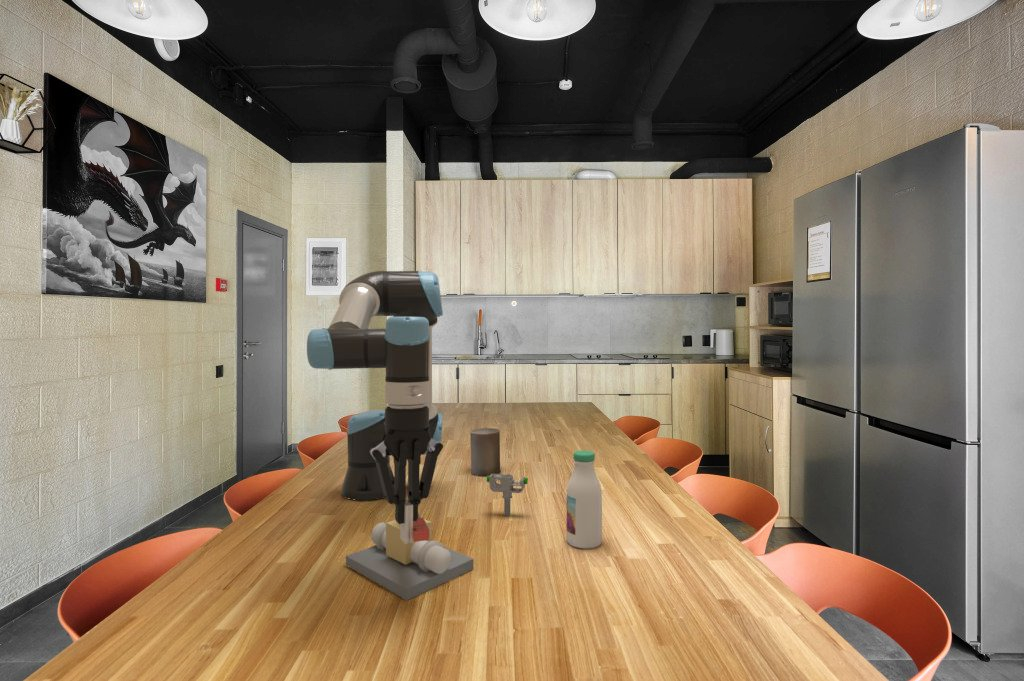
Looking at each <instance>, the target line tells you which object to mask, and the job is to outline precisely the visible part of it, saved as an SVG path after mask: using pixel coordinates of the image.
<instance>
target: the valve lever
mask: <svg viewBox="0 0 1024 681" xmlns="http://www.w3.org/2000/svg"><path fill="white" fill-rule="evenodd" d="M406 501H409V499H406ZM424 519H425V518H424V517H421V516H420V513H419V512H418V519H417V521H413V540H414V542H418V541H425V540H429V528H428V526H427V524H426V522H425V520H424Z"/></svg>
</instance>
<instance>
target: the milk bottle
mask: <svg viewBox="0 0 1024 681" xmlns="http://www.w3.org/2000/svg"><path fill="white" fill-rule="evenodd" d="M595 454H596V453H595V452H594V451H592V450H583V449H582V450H575V451H574V452H573V463H574V467H573V470H572V473H571V476H570V478H569V480H568V483H567V488H566V541H567V544H568V545H570V546H571V547H574V548H577V549H583V550H585V549H587V550H589V549H594V548H597V547H599V546H601V544H602V540H603V499H602V498H603V496H602V487H601V484H600V480H599V478H598V476H597V474H596V470H595V465H594V464H595V462H596V461H595V458H596V456H595Z"/></svg>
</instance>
